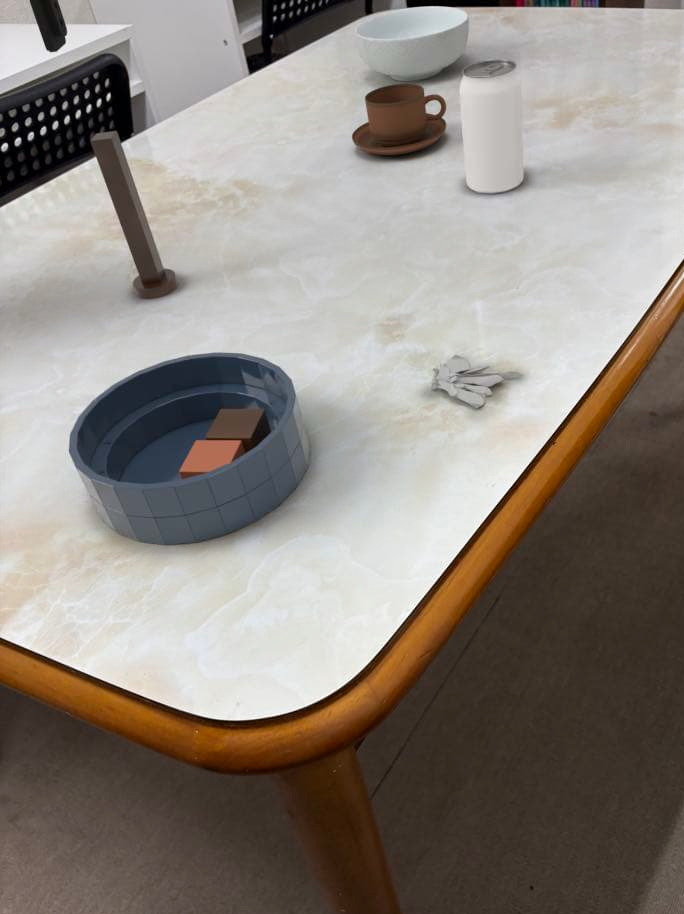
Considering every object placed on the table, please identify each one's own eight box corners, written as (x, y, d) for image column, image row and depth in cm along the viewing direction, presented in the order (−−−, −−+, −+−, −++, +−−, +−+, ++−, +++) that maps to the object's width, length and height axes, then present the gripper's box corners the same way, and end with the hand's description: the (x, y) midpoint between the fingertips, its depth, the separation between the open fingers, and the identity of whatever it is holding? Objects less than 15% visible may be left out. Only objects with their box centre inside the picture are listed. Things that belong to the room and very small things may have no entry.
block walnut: (262, 476, 63) (250, 437, 60) (218, 475, 63) (204, 437, 61) (275, 446, 65) (265, 408, 63) (233, 445, 66) (220, 408, 63)
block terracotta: (193, 509, 61) (178, 471, 58) (209, 477, 63) (195, 439, 61) (239, 510, 60) (226, 471, 58) (254, 478, 63) (241, 440, 60)
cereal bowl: (373, 99, 124) (366, 45, 119) (352, 70, 136) (344, 20, 131) (485, 76, 125) (482, 21, 121) (454, 49, 138) (450, -2, 133)
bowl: (70, 558, 59) (37, 499, 56) (127, 420, 71) (103, 363, 67) (299, 539, 58) (281, 476, 54) (319, 401, 70) (305, 342, 66)
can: (455, 191, 97) (445, 75, 88) (485, 169, 100) (478, 56, 92) (505, 198, 93) (500, 79, 85) (534, 175, 97) (531, 59, 89)
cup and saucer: (421, 121, 115) (416, 71, 111) (464, 145, 107) (460, 91, 102) (340, 145, 112) (331, 94, 108) (377, 171, 104) (369, 118, 100)
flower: (509, 362, 72) (513, 333, 70) (534, 416, 66) (539, 385, 64) (421, 366, 71) (422, 337, 69) (438, 421, 65) (440, 390, 63)
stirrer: (132, 302, 87) (73, 147, 76) (142, 281, 90) (87, 130, 80) (173, 297, 86) (120, 141, 76) (182, 276, 90) (132, 124, 79)
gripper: (35, -235, 62) (113, 31, 74) (-189, -204, 63) (-78, 52, 75) (-2, -231, 57) (89, 55, 69) (-246, -197, 58) (-116, 78, 70)
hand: (2, 53), depth 72 cm, fingers open, 9 cm apart
